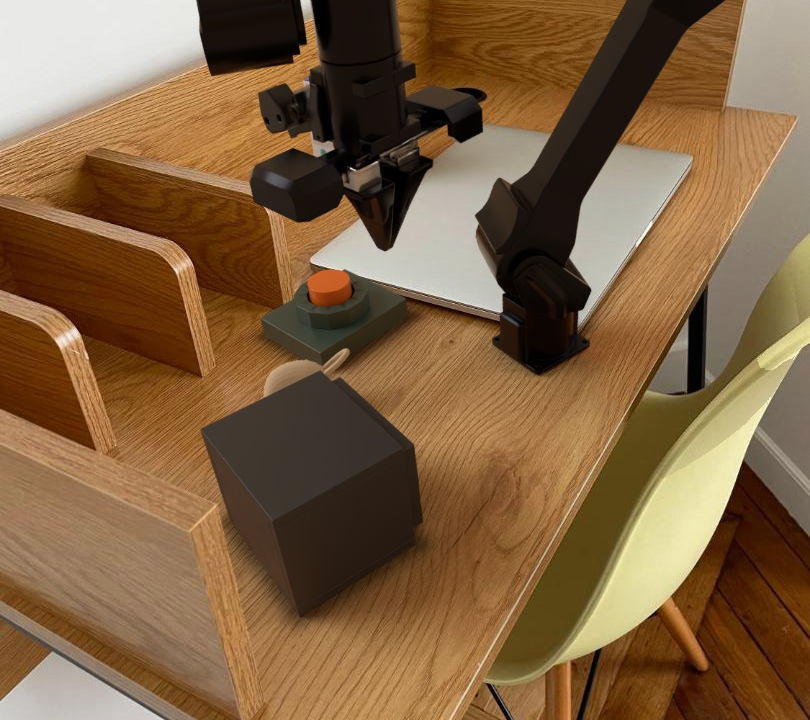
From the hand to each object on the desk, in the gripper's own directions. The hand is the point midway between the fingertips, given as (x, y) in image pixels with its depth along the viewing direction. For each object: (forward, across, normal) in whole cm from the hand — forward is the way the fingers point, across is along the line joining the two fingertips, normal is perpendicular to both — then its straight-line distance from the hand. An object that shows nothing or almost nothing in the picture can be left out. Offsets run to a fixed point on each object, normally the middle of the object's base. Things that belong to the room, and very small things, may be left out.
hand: (384, 248), depth 66 cm
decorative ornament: (+13, +9, -2) cm, 16 cm away
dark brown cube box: (+13, +17, +9) cm, 23 cm away
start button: (+9, -1, -10) cm, 14 cm away
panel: (+13, -1, -10) cm, 16 cm away
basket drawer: (+12, +14, +9) cm, 21 cm away
